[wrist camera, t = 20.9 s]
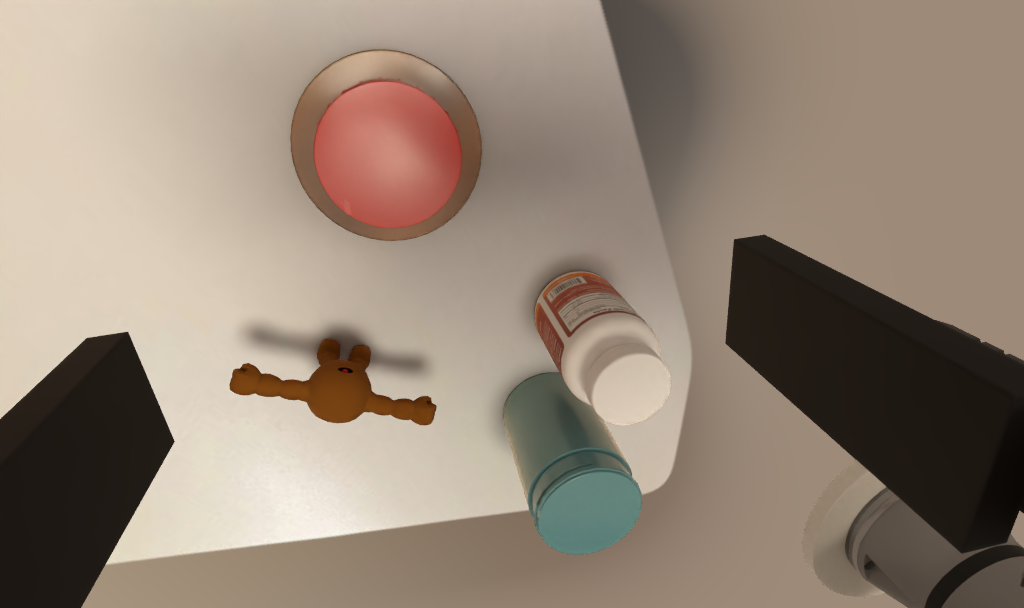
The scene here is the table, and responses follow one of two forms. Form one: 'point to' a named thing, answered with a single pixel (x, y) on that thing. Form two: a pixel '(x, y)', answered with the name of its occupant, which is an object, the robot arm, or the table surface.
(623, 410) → the pill bottle
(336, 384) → the toy figurine
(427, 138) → the cap
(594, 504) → the jar
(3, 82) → the table surface
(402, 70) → the coaster
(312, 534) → the table surface
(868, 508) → the robot arm
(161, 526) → the table surface
